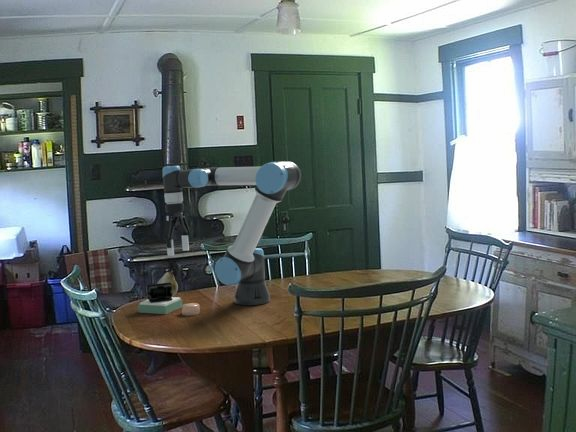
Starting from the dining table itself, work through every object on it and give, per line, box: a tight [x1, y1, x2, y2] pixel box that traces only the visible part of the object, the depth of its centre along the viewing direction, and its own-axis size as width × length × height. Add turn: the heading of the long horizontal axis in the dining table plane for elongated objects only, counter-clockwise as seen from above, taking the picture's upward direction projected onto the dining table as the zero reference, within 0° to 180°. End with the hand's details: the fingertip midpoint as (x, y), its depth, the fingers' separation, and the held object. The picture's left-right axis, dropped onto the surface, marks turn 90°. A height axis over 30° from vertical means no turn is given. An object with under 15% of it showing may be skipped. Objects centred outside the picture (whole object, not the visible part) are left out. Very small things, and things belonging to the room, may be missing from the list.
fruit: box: [156, 270, 179, 297], centre depth 309 cm, size 10×9×12 cm
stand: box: [137, 296, 184, 315], centre depth 287 cm, size 13×13×4 cm
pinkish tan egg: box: [181, 302, 201, 317], centre depth 278 cm, size 7×7×4 cm
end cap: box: [145, 283, 173, 303], centre depth 286 cm, size 10×7×7 cm
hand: (178, 253), depth 292 cm, fingers open, 13 cm apart
